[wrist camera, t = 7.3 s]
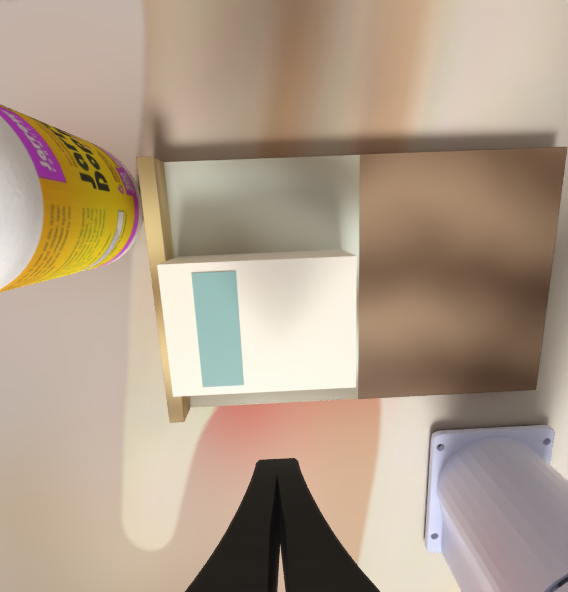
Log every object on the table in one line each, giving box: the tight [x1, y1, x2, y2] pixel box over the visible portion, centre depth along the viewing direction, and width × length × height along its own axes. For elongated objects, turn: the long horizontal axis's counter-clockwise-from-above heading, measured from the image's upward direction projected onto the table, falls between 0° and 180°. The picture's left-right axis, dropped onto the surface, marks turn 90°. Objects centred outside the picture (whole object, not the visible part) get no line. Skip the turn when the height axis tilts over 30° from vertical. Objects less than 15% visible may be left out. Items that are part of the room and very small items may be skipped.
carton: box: [157, 249, 357, 397], centre depth 18 cm, size 6×9×4 cm
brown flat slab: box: [136, 147, 567, 423], centre depth 19 cm, size 14×22×2 cm, turn 92°
